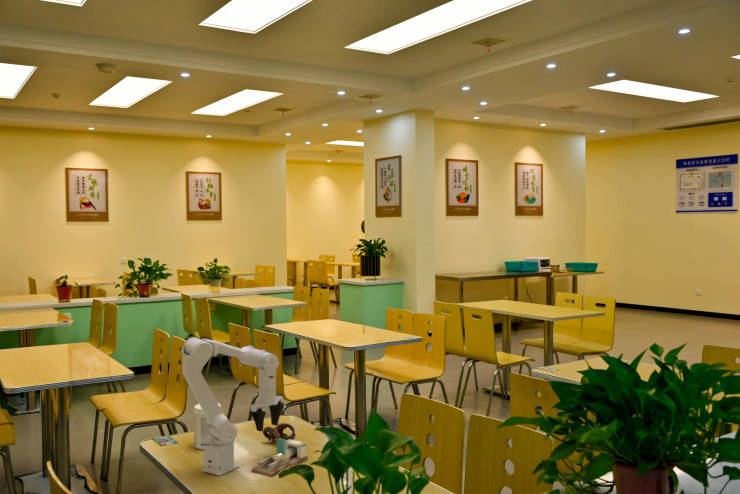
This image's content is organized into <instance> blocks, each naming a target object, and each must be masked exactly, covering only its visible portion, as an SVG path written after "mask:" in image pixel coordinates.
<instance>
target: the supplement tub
mask: <svg viewBox="0 0 740 494" xmlns="http://www.w3.org/2000/svg"><path fill="white" fill-rule="evenodd" d="M217 403H218V405H219V407H220V409H221V410H222V405H221V403H219V402H217ZM206 419H207V417H206V416H205V414H204V412H203V410H202V408H201V406H200V405H199V403H197V404H195V405H194V409H193V421H194V422H193V427H194V431H193V432H194V434H193V435H194V437H193V438H194V447H195V449H198V450H200V451H204V450H205V448H206V447H207V446H209V445H210V443H211V438H212V435H210V433H209V431H208V424H207V422H206Z"/></svg>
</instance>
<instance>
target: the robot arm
mask: <svg viewBox="0 0 740 494" xmlns="http://www.w3.org/2000/svg"><path fill="white" fill-rule="evenodd" d="M181 354H182V365H181V366H182V367H181V368H182V369H181V371H182V375H183V377H184V379H185V380H186V383H187V384H188V386H189V387H190V389H191V392H192V394H193V395H194V397H195V399H196V401H197V402H198V403H197V404H199V405H200V406H201V408H202V410H203V412H204V414H205V416H206V417H207V419H206V422H207V424H208V431H209V433H210V435H212V438H211V443H210V445H209V446H207V447H206V448H205V450H203V457H202V458H203V468H202V469H201V472H204V473H209V474H211V475H215V476H222V475H224V474H226V473H229V472H231V471H233V470H235V469H237V468H240V464H237V463H235V439H236V438H237V435H238V429H237V426H236V425H234V424H233V423H231V421H230V420H229V419H228V417H227V416H226V415H225V413H224V412H223V411H222V408H221V409H220V407H219V405H218V403H219V402H217V400H216V398H215V396H214V394H213V392H212V391H211V389H210V387H209V385H208V383H207V381H206V379H205V377H204V375H203V374H202V371H203V368H204V366H205V365H206V364H207V362H208V361H209V360H210V359H211V357H216V356H218V355H219V354H221V355H225V356H227V357H228V356H229V357H233V358H238V361H239V363H240V364H244V365H247V366H250V367H255V368H257V369H258V400H257V401H256V402H255V403H253V404H251V405H250V409H249V413H250V415H251V417H252V420H253V421H254V424H255V430H256V431H257V432H263V430H264V424H265V423H264V422H265V417H266V415H267V414H266V413H267V412H266V411H265V410H263V409H265V408H269V412H270V423H271V426H275V427H276V426H277V425H278V424H279V419H280V417H281V414H282V411H283V409H284V408H285V404H284V396H280V395H277V392H276V391H277V369H278V367H279V365H280V361H279V359H278V356H277V355H275V354H274V353H270V352H268V351H267V350H266V349H265V350H264V349H261V350H260V349H258V348H255V346H253V345H248V346H247V345H246V346H243V347H241V348H239V347H236V346H233V345H230V344H226V343H223V342H220V341H218V340H213V339H208V338H201V339H200V338H199V337H189V338H188V339H186V341H185V342H184V344H183V346H182V348H181Z"/></svg>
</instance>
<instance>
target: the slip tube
mask: <svg viewBox="0 0 740 494" xmlns="http://www.w3.org/2000/svg"><path fill="white" fill-rule="evenodd" d="M296 455H297V447H295V446H293V447H291V448H289V449H287V450H286V440H285V439H281V438H278V439H276V454H273V455H271V456H272V457H271V456H270V457H271V462H272V463H273V462H276V461H278V460H280V459H282V458H284V457H286V456H289V458H291V457H293V456H296Z"/></svg>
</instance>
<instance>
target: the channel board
mask: <svg viewBox="0 0 740 494" xmlns="http://www.w3.org/2000/svg"><path fill="white" fill-rule="evenodd" d="M272 456H273V455H271V456H269V457H267V458H265V459H262V460H261V461H258V462H257V465H256V466H253V467H252V468H251V473H256V474H259V475H262V476H267V477H270V478H273V477H274V476H277V475H278V473H279V472H280V471H281V470H283V469H286V468H289V467H291V465H292V466H293V465H295V466H298V465H299V464H301V463H303V462H305V461H307V460H309V457H308V456H306V457H304V458H302V459H300V458H297V455H296V456H293V457H291V458H289V456H286V457H284V458H282V459H280V460H278V461H276V462H273V463H272V462H271V457H272ZM298 463H299V464H298ZM288 466H289V467H288ZM293 467H294V466H293ZM291 468H292V467H291ZM289 469H290V468H289ZM279 474H280V473H279Z"/></svg>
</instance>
